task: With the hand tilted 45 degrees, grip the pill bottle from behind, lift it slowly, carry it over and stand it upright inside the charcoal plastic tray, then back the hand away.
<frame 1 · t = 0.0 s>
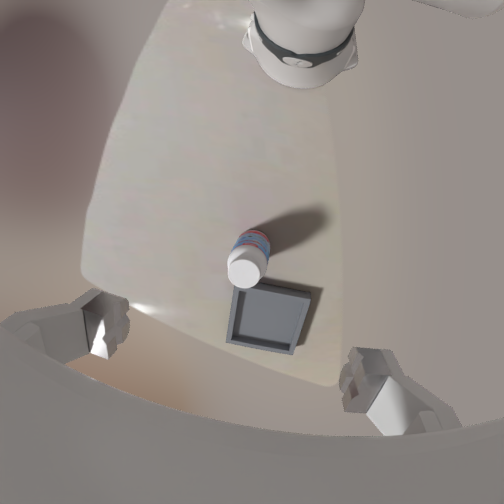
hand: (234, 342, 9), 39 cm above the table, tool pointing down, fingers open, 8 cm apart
tray: (266, 315, 55), on the table
pill bottle: (253, 245, 50), on the table
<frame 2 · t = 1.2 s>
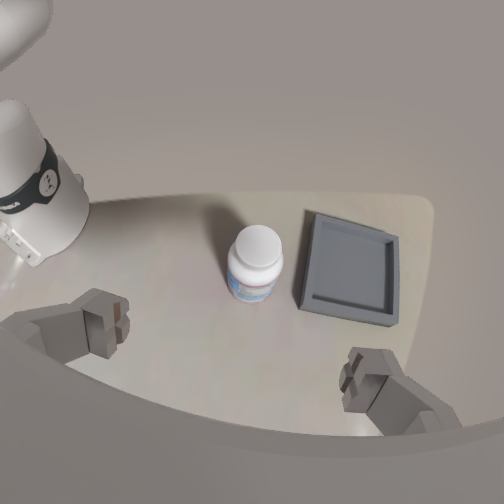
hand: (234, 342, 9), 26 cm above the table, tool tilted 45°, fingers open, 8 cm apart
tray: (351, 273, 39), on the table
pill bottle: (250, 284, 38), on the table
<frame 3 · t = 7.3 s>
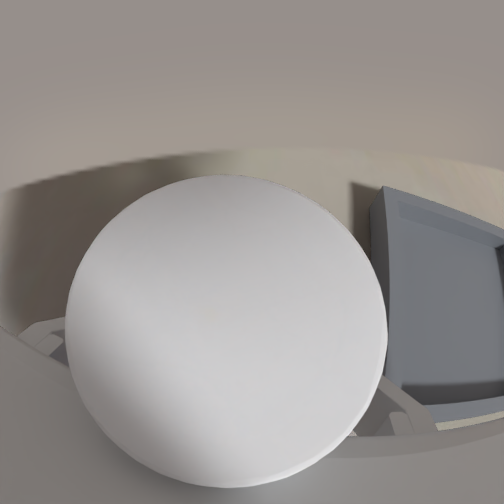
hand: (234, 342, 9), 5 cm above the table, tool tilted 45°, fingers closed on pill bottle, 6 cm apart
tray: (455, 315, 15), on the table
pill bottle: (233, 369, 14), on the table, touching gripper
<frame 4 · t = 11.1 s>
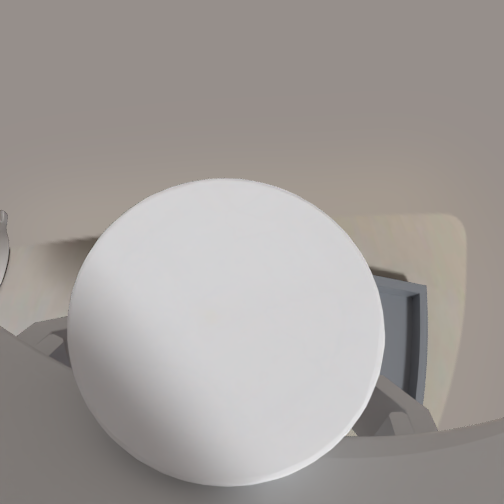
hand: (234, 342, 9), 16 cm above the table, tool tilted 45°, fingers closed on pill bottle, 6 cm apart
tray: (355, 350, 24), on the table
pill bottle: (232, 370, 14), point 11 cm above the table, touching gripper
when the fingers open (7 cm above the table, at t = 15.3 s): pill bottle drops 1 cm, resting on tray.
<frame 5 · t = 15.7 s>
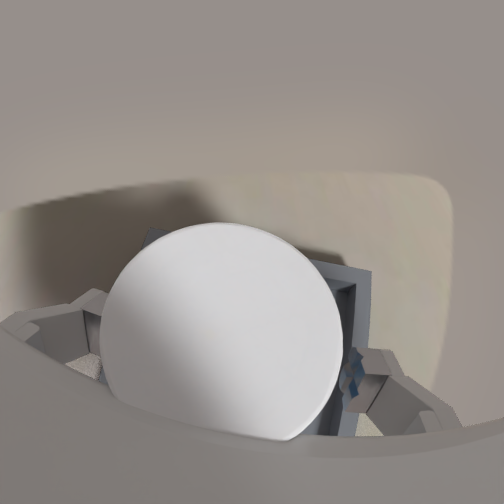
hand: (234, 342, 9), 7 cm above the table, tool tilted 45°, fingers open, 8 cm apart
tray: (234, 371, 16), on the table
pill bottle: (232, 371, 15), point 1 cm above the table, touching tray
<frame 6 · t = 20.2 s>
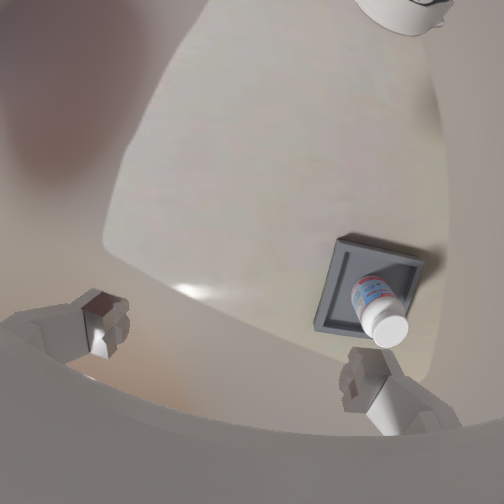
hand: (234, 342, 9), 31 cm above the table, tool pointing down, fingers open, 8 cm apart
tray: (367, 291, 41), on the table
pill bottle: (368, 292, 40), point 1 cm above the table, touching tray
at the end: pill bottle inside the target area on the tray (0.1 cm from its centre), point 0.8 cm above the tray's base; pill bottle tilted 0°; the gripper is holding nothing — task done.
